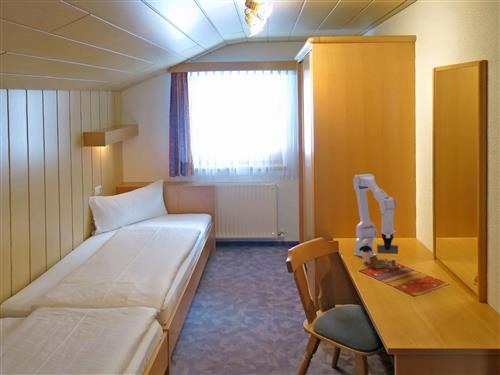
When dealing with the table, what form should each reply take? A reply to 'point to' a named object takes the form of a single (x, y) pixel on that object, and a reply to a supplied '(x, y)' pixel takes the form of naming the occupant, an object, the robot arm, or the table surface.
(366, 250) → the grandmother figurine
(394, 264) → the stand
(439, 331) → the table surface
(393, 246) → the bar
